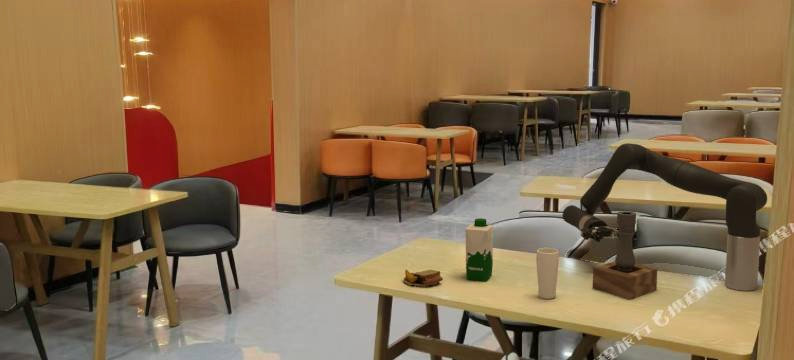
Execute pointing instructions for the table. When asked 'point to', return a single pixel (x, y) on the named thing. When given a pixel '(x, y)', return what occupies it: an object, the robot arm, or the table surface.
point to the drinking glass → (547, 272)
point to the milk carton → (479, 250)
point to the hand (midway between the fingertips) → (611, 238)
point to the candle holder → (625, 241)
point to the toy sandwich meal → (423, 278)
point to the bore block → (625, 280)
